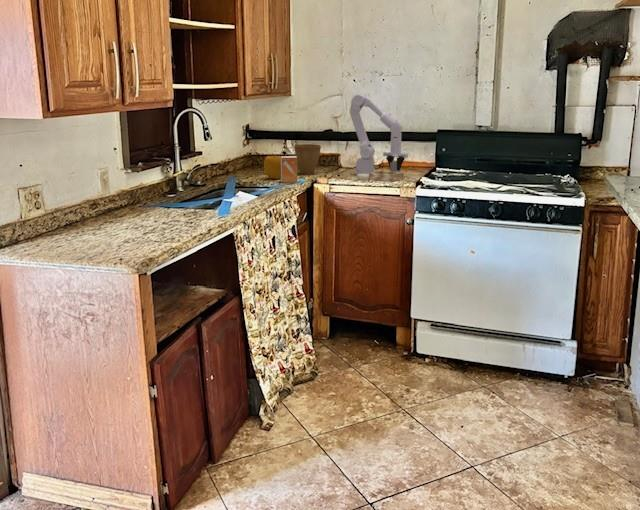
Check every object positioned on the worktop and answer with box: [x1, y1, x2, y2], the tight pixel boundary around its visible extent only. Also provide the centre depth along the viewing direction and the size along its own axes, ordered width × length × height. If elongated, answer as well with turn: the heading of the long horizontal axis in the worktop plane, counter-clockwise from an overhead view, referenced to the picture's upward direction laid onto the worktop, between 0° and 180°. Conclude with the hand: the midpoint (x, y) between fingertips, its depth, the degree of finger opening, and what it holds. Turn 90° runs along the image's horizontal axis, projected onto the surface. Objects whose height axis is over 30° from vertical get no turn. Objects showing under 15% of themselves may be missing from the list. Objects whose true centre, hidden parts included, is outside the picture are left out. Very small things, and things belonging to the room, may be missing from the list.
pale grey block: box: [356, 173, 370, 181], centre depth 336 cm, size 6×6×3 cm
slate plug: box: [389, 159, 401, 172], centre depth 348 cm, size 4×4×7 cm
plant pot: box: [294, 143, 322, 175], centre depth 357 cm, size 15×15×16 cm
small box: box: [280, 155, 298, 184], centre depth 328 cm, size 8×6×13 cm
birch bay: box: [368, 170, 405, 183], centre depth 335 cm, size 14×12×4 cm
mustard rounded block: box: [263, 154, 282, 180], centre depth 338 cm, size 11×11×13 cm
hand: (395, 170), depth 348 cm, fingers closed on slate plug, 4 cm apart
